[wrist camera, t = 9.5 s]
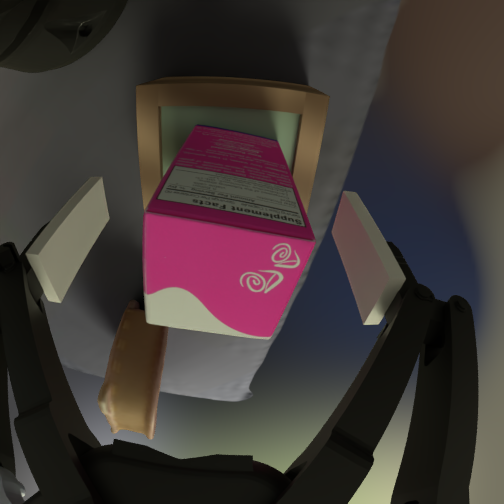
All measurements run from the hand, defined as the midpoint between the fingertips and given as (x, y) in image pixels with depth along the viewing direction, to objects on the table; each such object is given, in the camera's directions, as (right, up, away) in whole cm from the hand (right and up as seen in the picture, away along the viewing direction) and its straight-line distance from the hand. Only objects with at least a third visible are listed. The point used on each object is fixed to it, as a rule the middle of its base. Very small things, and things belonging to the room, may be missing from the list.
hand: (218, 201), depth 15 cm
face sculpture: (-14, -14, +26) cm, 32 cm away
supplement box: (0, +3, +5) cm, 6 cm away
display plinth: (0, +7, +9) cm, 11 cm away
